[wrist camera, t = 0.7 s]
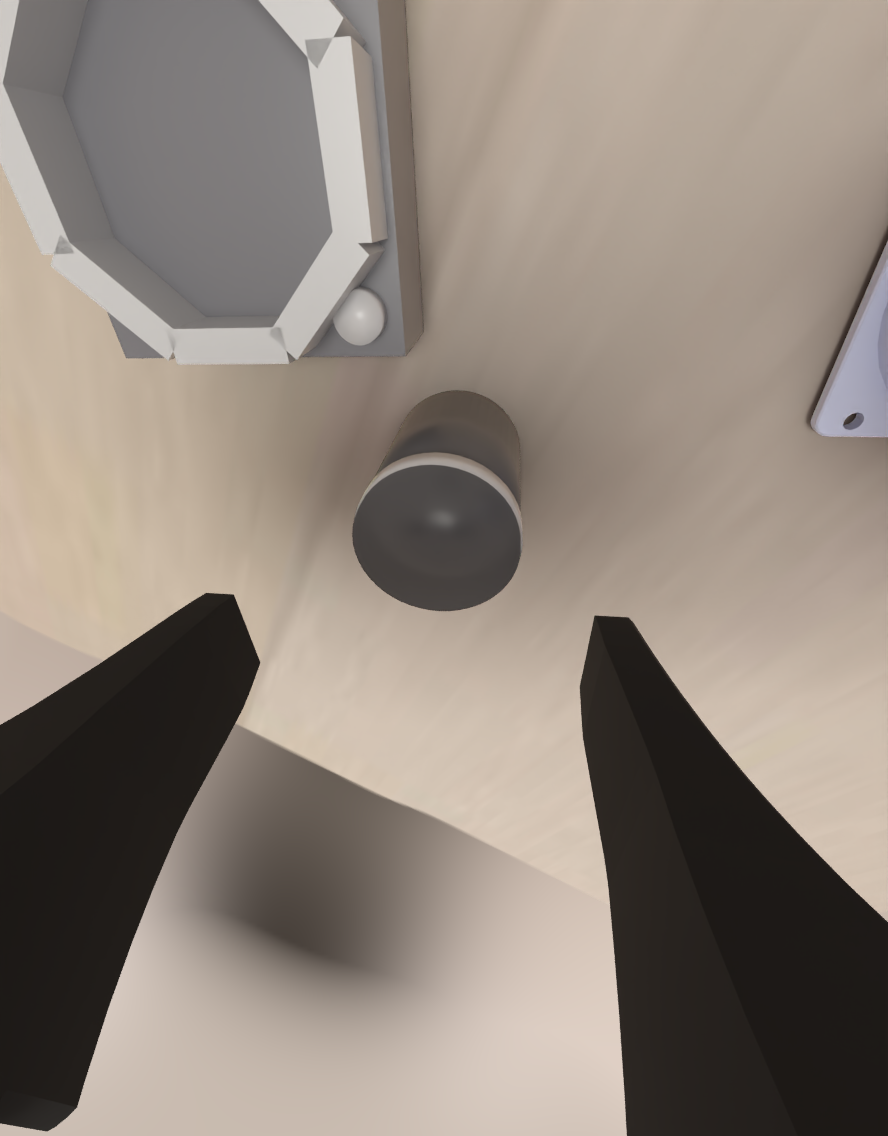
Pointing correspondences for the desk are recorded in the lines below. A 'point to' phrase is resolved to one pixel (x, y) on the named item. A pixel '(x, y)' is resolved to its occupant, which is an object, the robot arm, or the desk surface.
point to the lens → (444, 506)
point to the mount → (220, 170)
